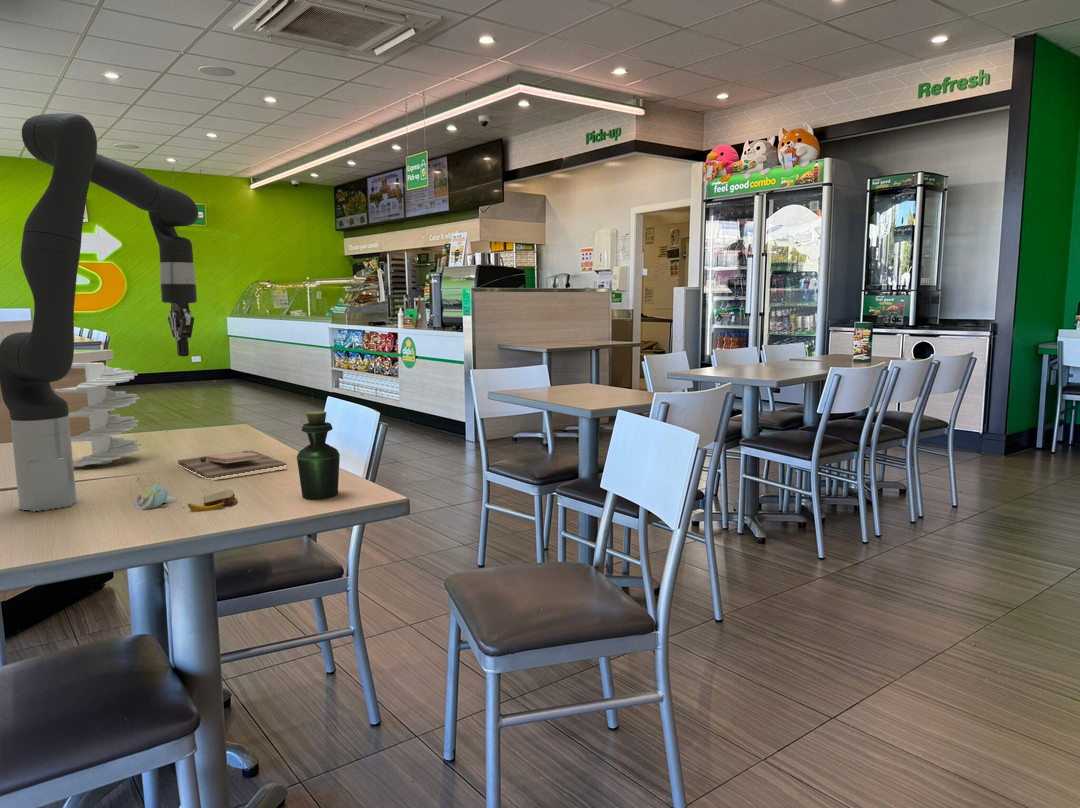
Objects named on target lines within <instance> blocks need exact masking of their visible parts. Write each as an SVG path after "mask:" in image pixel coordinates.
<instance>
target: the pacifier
mask: <svg viewBox="0 0 1080 808" xmlns="http://www.w3.org/2000/svg"><path fill="white" fill-rule="evenodd" d="M159 492H160V493H159ZM142 499H143V500H142ZM141 500H142V502H141V503H142V504H141V506H140V501H141ZM174 503H175V504H176V503H177V499H176V498H175V497H173V496H171V495H168V490H167V488H166V487H165V486H162V485H157V483H154V484H153V485H152V486H147V487H145V489H143V490H142V492H141V493H140V494H138V495H137V497H136V498H135V500H134V503H133V507H134V508H135V509H137V510H140V511H145V510H146V509H153V508H154V509H155V508H157V507H159V506H160V505H162V504H166V505H171V504H174Z"/></svg>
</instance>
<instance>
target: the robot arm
mask: <svg viewBox="0 0 1080 808" xmlns="http://www.w3.org/2000/svg"><path fill="white" fill-rule="evenodd" d="M21 138H22V142H23V145H24V147H25V148H26V150H27V151H28V152H29V154H31V156H32V157H34V158H35V159H37V160H38V161H40V162H42V163H44V164H47V165H49V166H51V167H53V169H52V174H51V178H50V182H49V184H48V185H47V188H46V190H45V191H44V193H43V194H42V195H41V197H40V198H39V200H38V202H37V203H36V204H35V205H34V207H33V208H32V210H31V211H30V213H29V215H28V217H27V218H26V220H25V223H24V227H23V230H22V231H23V232H22V239H21V249H20V262H21V267H22V271H23V273H24V276H25V279H26V282H27V284H28V286H29V288H30V290H31V294H32V298H33V303H34V309H33V310H34V311H33V320H32V327H31V331H30V332H29V331H27V332H26V331H25V332H24V331H23V332H21V331H20V332H15V333H11V334H9V335H7V336H6V337H4V338H3V339H2V341H1V342H0V390H1V391H0V392H1V396H2V400H3V403H4V405H5V407H6V408H7V410H8V412H9V419H10V428H11V429H10V430H11V437H12V438H11V439H12V449H13V457H14V458H13V459H14V467H15V470H14V471H15V478H16V489H17V498H18V507H19V510H20V509H22V510H21V511H24V510H30V511H29V512H32V511H33V512H32V513H36V512H35V511H39V512H42V511H41V510H45V511H50V510H49V509H52V510H55V509H54V508H58V509H62V508H61V507H64V508H68V507H69V506H71V507H73V504H76V503H77V501H78V499H77V490H76V480H75V479H76V478H75V469H74V467H75V466H73V462H74V457H73V448H72V447H73V446H72V442H71V437H72V436H71V425H70V417H69V415H68V414H69V413H70V411H69V404H68V402H67V401H66V400H65V399H64V398H62V397H61V396H59V395H58V394H57V393H56V392H55V390H53V389H52V387H51V383H54V382H58V381H61V380H62V379H63V378H65V377H66V376H67V375H68V374H69V372H70V370H71V369H72V368H71V366H72V363H73V361H74V354H75V339H74V338H75V328H74V325H75V324H74V323H75V322H74V321H75V317H74V316H75V300H76V291H77V290H76V289H77V287H76V286H77V280H78V279H77V277H78V270H79V269H78V268H79V265H80V264H79V263H80V257H81V248H82V247H81V246H82V235H83V234H82V233H83V227H84V226H83V225H84V219H85V211H86V205H87V198H88V191H89V187H90V183H93V184H95V185H96V186H99V187H101V188H103V189H105V190H107V191H109V192H111V193H112V194H114V195H116V196H117V197H120V198H122V199H123V200H124V201H126V202H128V203H130V204H131V205H133V206H134V207H136V208H138V209H139V210H142V211H147V212H148V217H149V221H150V224H151V226H152V229H153V233H154V235H155V237H156V240H157V243H158V247H159V250H158V251H159V262H160V263H159V265H160V266H159V281H160V283H159V284H160V295H161V302H162V303H163V304H170V311H169V313H168V314H169V315H168V317H167V321H168V324H169V328H170V330H171V335H172V337H173V338H174V340H175V341H176V351H177V356H178V357H189V356H190V349H189V341H190V339H191V338H192V335H193V329H194V328H193V327H194V323H195V317H194V316H192V315H193V314H192V311H191V310H190V305H189V304H195V303H197V302H198V299H197V297H198V296H197V281H196V280H197V279H196V278H197V277H196V270H195V267H194V253H193V244H192V241H191V240H190V239H189V238H186V237H184V236H179V235H178V233H177V230H176V228H177V227H188V226H192V225H193V224H194V223H196V221H197V220H198V218H199V209H198V206H197V204H196V202H195V201H194V200H193V199H192V197H190V196H189V195H187V194H186V193H185V192H181V191H179V190H177V189H174V188H172V187H169V186H167V185H163V184H161V183H158V182H156V180H155V179H153V178H151V177H150V176H148V175H147V174H145V173H143V172H142V171H140V170H139V169H137V168H135V167H133V166H131V165H128V164H126V163H124V162H121V161H118V160H116V159H113V158H109V157H107V156H104V155H102V154H99V153H97V152H98V139H97V133H96V131H95V128H94V126H93V124H92V122H91V121H89V119H87V117H85V116H84V115H81V114H79V113H73V112H64V113H63V112H61V113H58V112H57V113H45V114H44V113H43V114H42V113H41V114H37V115H33V116H31V117H29V118H28V119H26V120H25V121H24V123H23V125H22V128H21Z"/></svg>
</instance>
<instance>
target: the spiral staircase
mask: <svg viewBox="0 0 1080 808" xmlns="http://www.w3.org/2000/svg"><path fill="white" fill-rule="evenodd" d="M70 369H75V370H76V369H83V370H84V371H85V374H84V375H85V382H79V384H77V385H76V386H71V387H65V388H55V390H54V392H58V393H61V394H62V393H64V394H65V393H79V394H80V393H81V394H82V393H83V394H86V395H87V406H84V407H81V408H80V409H79V410H75V411H72V412H69V414H68V415H69V418H88V419H89V429H90V431H89V430H88V431H83V433H80V434H79V435H75V436H71V443H75V442H76V443H78V442H91V452H92V453H91V454H90V455H85V456H83V457H82V458H81V459H78V460H75V461H74V460H73V467H85V466H87V465H94V466H95V465H97V466H99V465H100V466H101V464H102V465H108V463H109V464H111V462H112V463H113V461H114V460H120V459H121V458H122V457H126V456H129V455H131V454H133V453H134V452H139V451H140V450H139V447H140V446H141V447H142V443H140V442H139V443H138V439H125V436H122V437H121V436H119V437H117V436H116V435H121V434H122V432H128V431H131V430H133V429H134V428H137V427H139V426H138V425H139V424H137V423H140V420H139V419H135V416H121V414H119V413H117V414H110V413H109V412H111V411H116V409H121V408H124V407H130V406H131V405H132V404H133V405H134V404H136V402H137V400H141V398H140V397H138V394H137V393H126V392H127V391H125V390H123V391H121V390H120V391H114V390H112V389H110V388H108V389H107V387H110V386H112V387H113V386H116V384H120V383H126V382H130V380H135V376H138V373H135V370H129V369H127V370H126V369H125V370H122V367H109V365H105V364H104V362H75V363H73V362H72V366H71V368H70ZM113 436H116V437H113ZM134 454H135V453H134Z"/></svg>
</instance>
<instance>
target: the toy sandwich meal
mask: <svg viewBox="0 0 1080 808" xmlns="http://www.w3.org/2000/svg"><path fill="white" fill-rule="evenodd" d="M203 503H204V505H198V504H192V503H190V502H189V503H187V507H188V508H189V509H190V511H191V512H192V513H197V512H207V511H217V510H221V509H222V507H229V506H236V505H237V504H238V503H239V501H238V499H237V498H236V497H235V492H234V490H232V489H226V490H223V491H219V492H215V493H211V494H206V495H204V496H203ZM182 509H185V507H182Z"/></svg>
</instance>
